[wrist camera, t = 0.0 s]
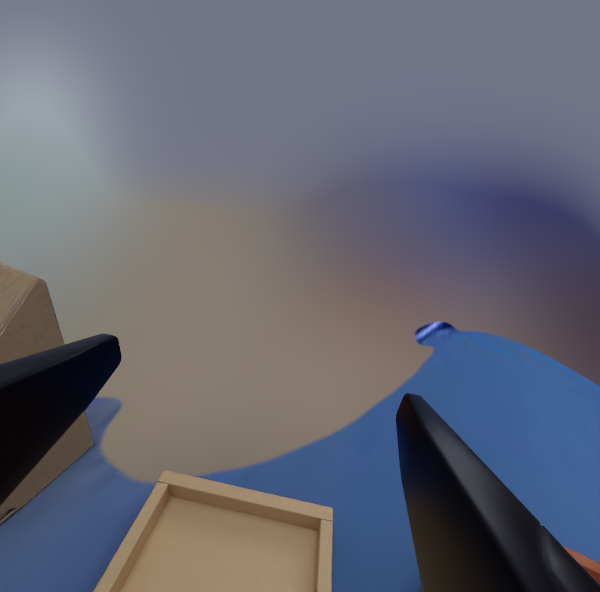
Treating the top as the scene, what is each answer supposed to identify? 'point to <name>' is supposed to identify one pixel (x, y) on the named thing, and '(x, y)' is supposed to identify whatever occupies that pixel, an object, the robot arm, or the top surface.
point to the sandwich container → (23, 342)
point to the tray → (222, 542)
